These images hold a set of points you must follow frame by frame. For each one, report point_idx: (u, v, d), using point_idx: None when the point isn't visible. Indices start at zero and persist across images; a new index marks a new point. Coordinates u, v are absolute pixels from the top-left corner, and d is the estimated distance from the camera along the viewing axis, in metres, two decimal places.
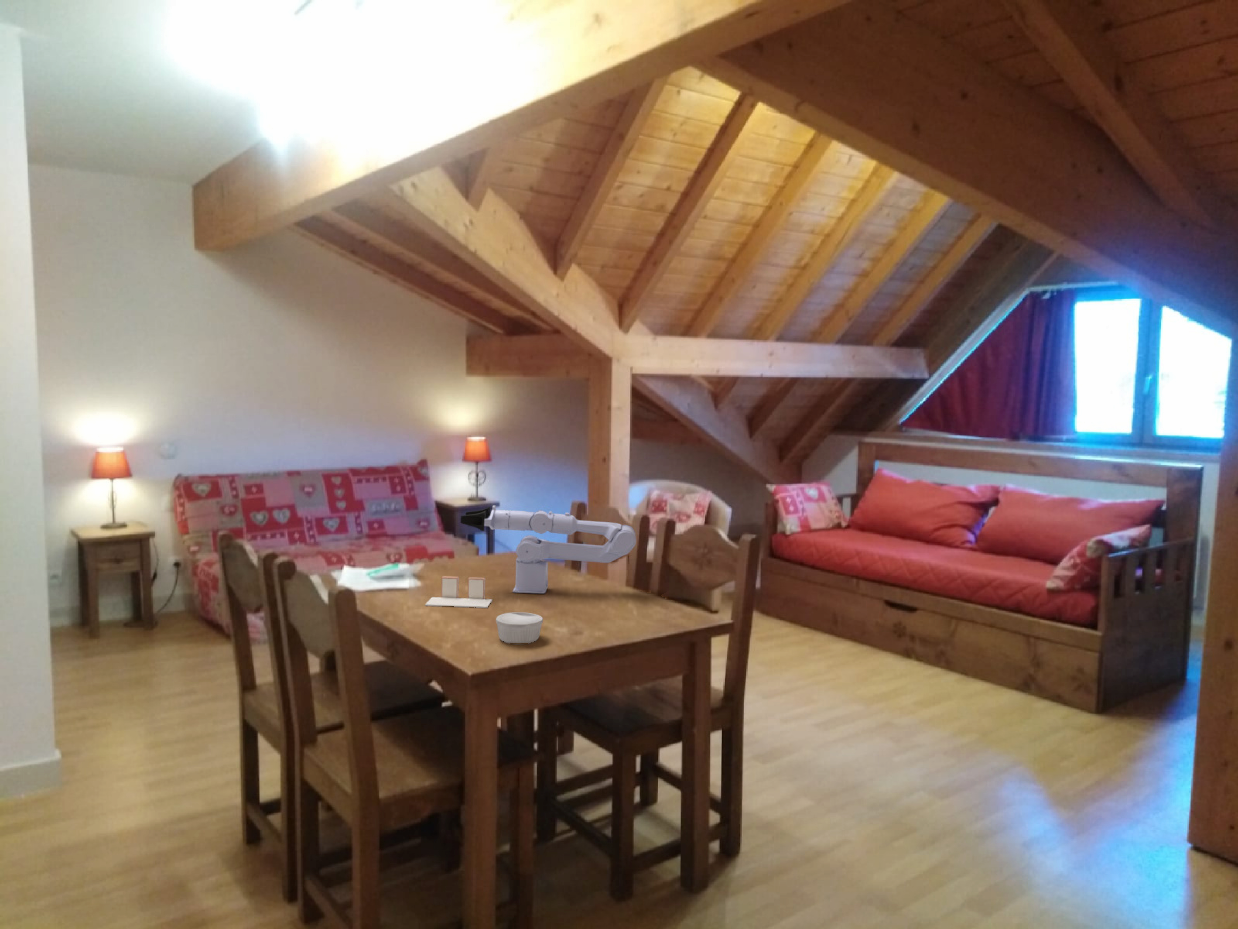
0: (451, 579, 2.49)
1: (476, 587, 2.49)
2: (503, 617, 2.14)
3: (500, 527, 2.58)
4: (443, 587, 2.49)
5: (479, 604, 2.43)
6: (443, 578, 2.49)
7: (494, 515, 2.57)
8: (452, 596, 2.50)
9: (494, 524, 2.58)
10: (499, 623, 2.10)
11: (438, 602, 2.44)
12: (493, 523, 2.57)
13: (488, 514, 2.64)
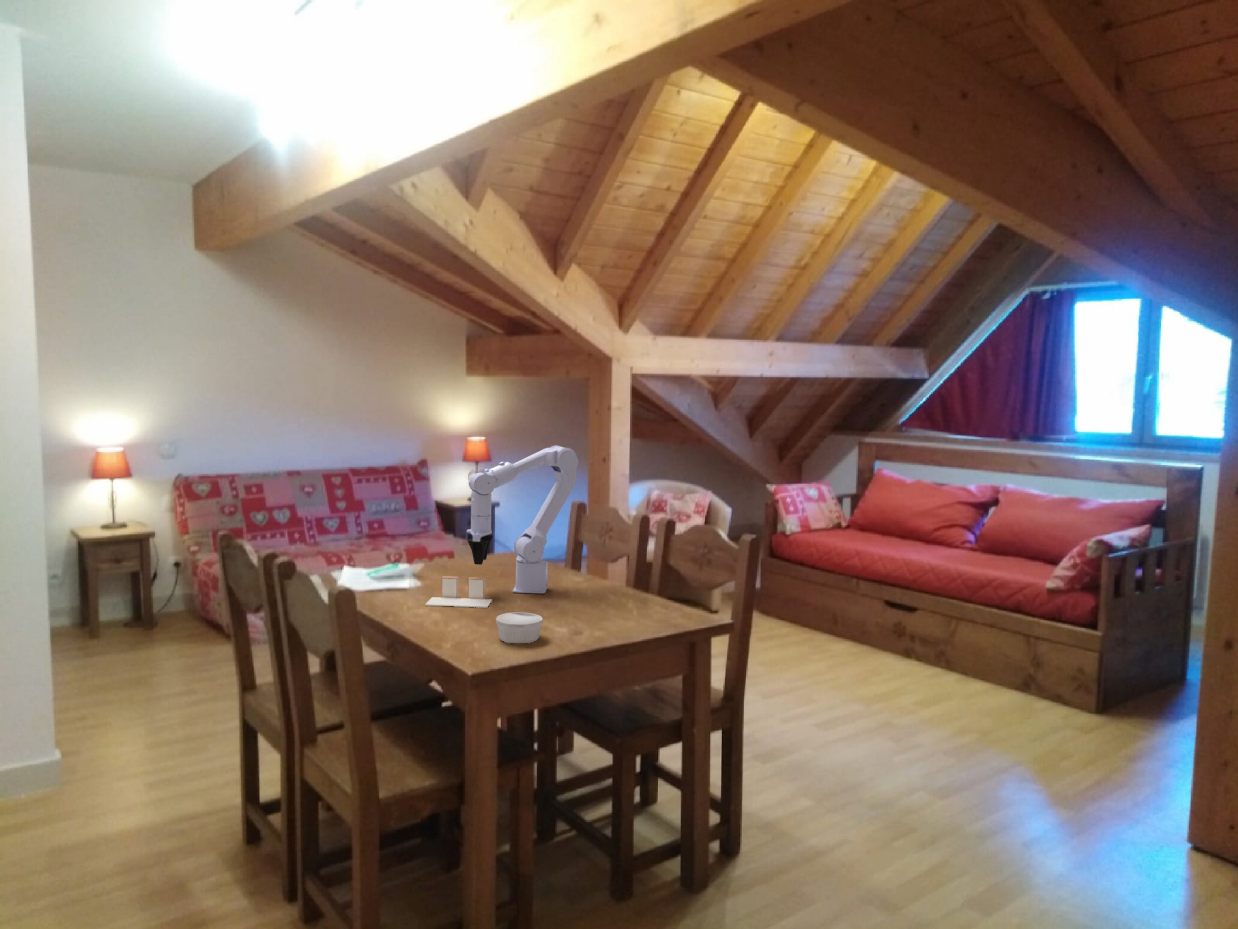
0: (451, 579, 2.49)
1: (476, 587, 2.49)
2: (503, 616, 2.14)
3: (486, 524, 2.52)
4: (443, 587, 2.49)
5: (479, 604, 2.43)
6: (443, 578, 2.49)
7: (474, 530, 2.52)
8: (452, 596, 2.50)
9: (483, 530, 2.51)
10: (499, 623, 2.10)
11: (438, 602, 2.44)
12: (482, 531, 2.51)
13: (480, 536, 2.57)
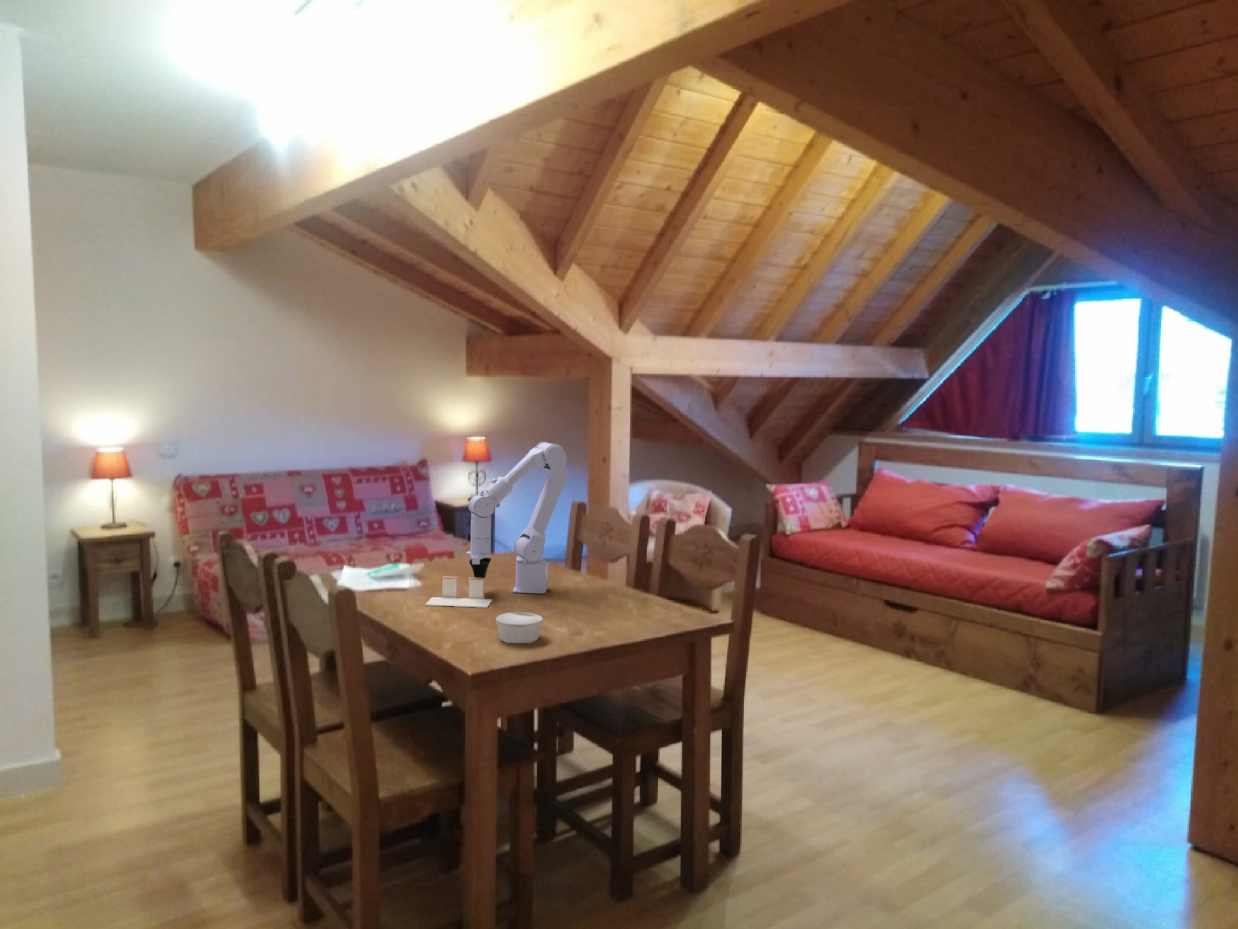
0: (451, 579, 2.49)
1: (476, 587, 2.49)
2: (503, 617, 2.14)
3: (486, 546, 2.52)
4: (443, 587, 2.49)
5: (479, 604, 2.43)
6: (443, 578, 2.49)
7: (473, 553, 2.52)
8: (452, 596, 2.50)
9: (483, 553, 2.52)
10: (499, 623, 2.10)
11: (438, 602, 2.44)
12: (481, 554, 2.52)
13: None
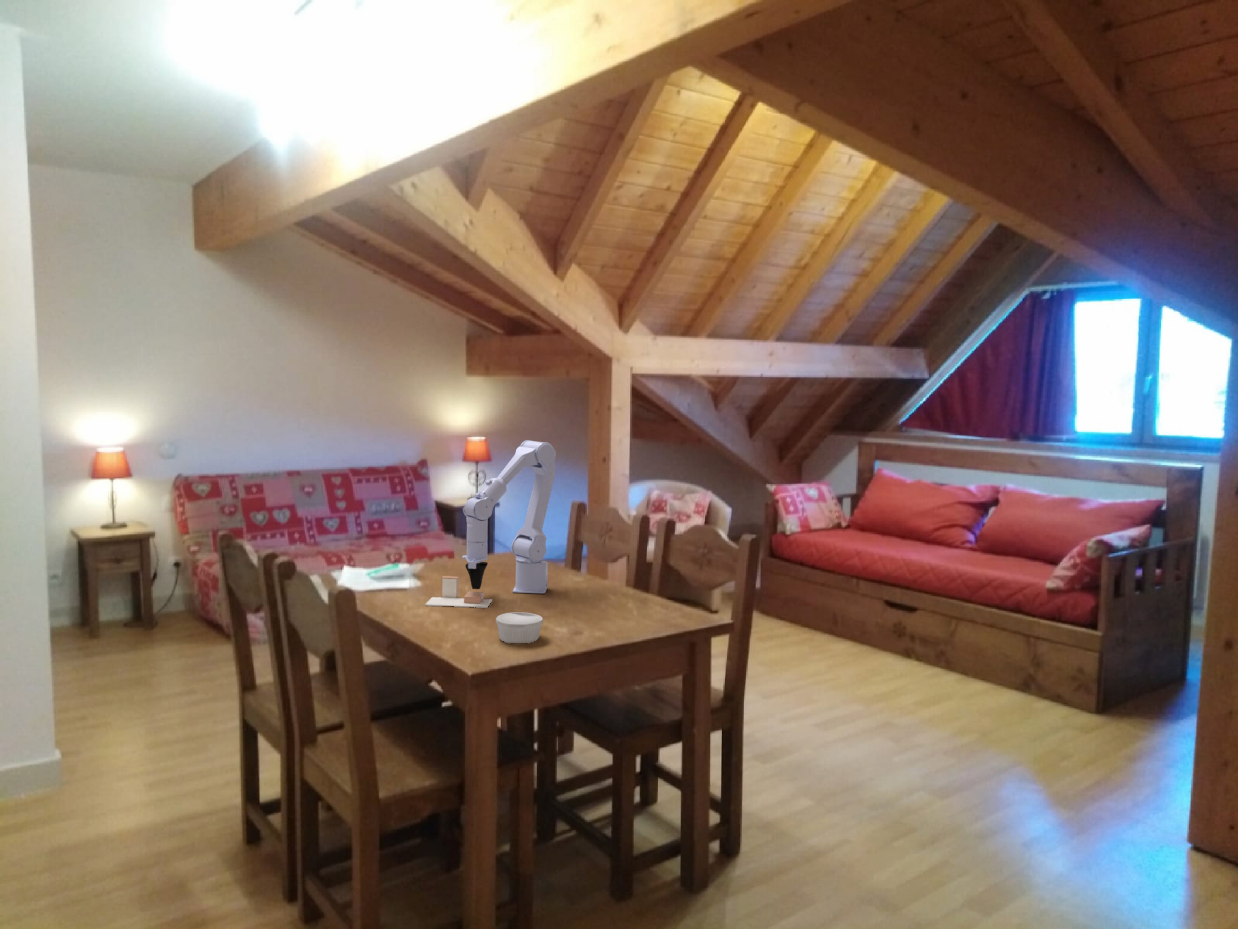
0: (451, 579, 2.49)
1: None
2: (503, 617, 2.14)
3: (482, 550, 2.47)
4: (443, 587, 2.49)
5: (479, 604, 2.43)
6: (443, 578, 2.49)
7: (469, 557, 2.46)
8: (452, 596, 2.50)
9: (479, 557, 2.46)
10: (499, 623, 2.10)
11: (438, 602, 2.44)
12: (477, 558, 2.46)
13: None
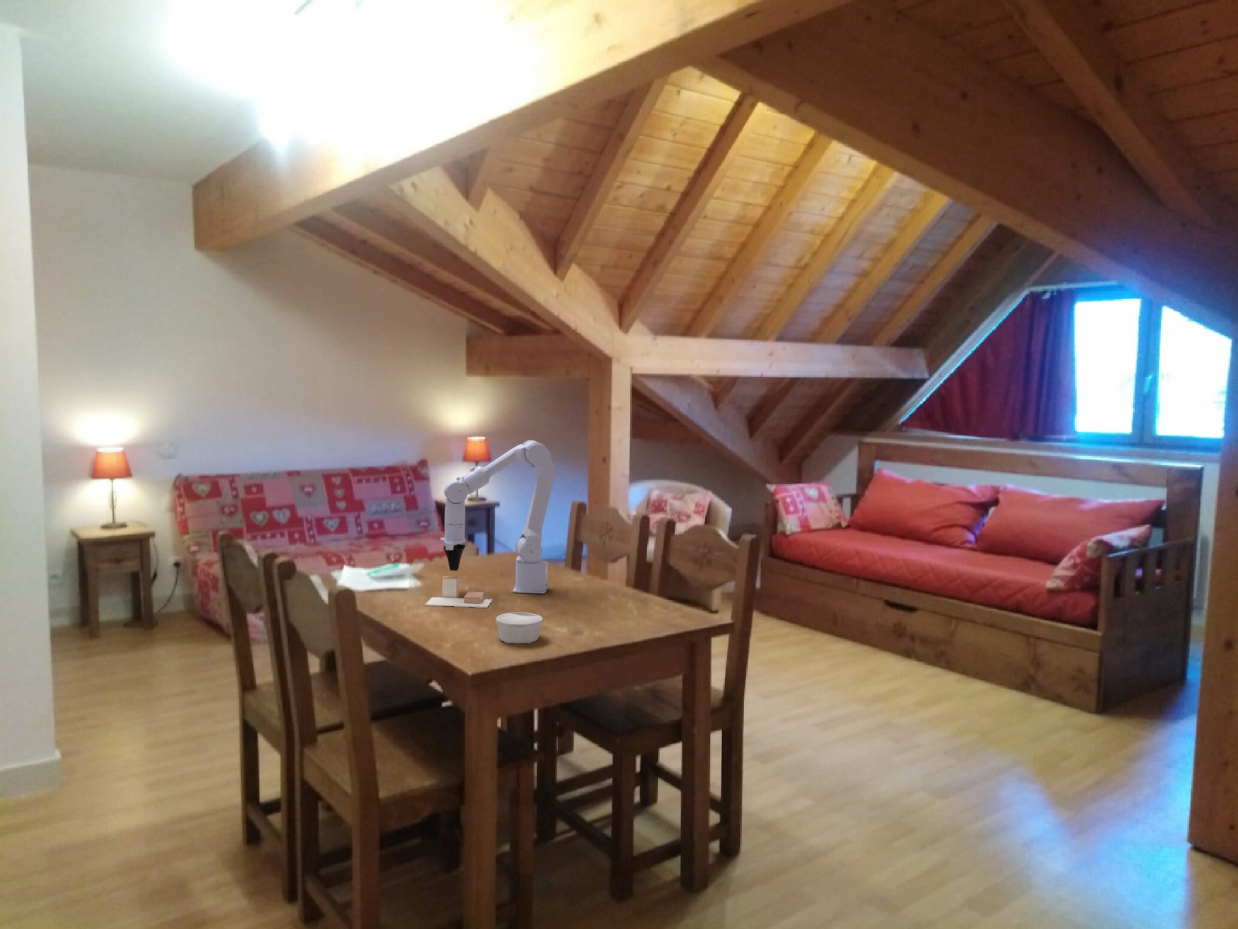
0: (451, 579, 2.49)
1: None
2: (503, 617, 2.14)
3: (460, 533, 2.52)
4: (443, 587, 2.49)
5: (479, 604, 2.43)
6: (443, 578, 2.49)
7: (447, 539, 2.52)
8: (452, 596, 2.50)
9: (457, 539, 2.52)
10: (499, 623, 2.10)
11: (438, 602, 2.44)
12: (455, 540, 2.52)
13: None
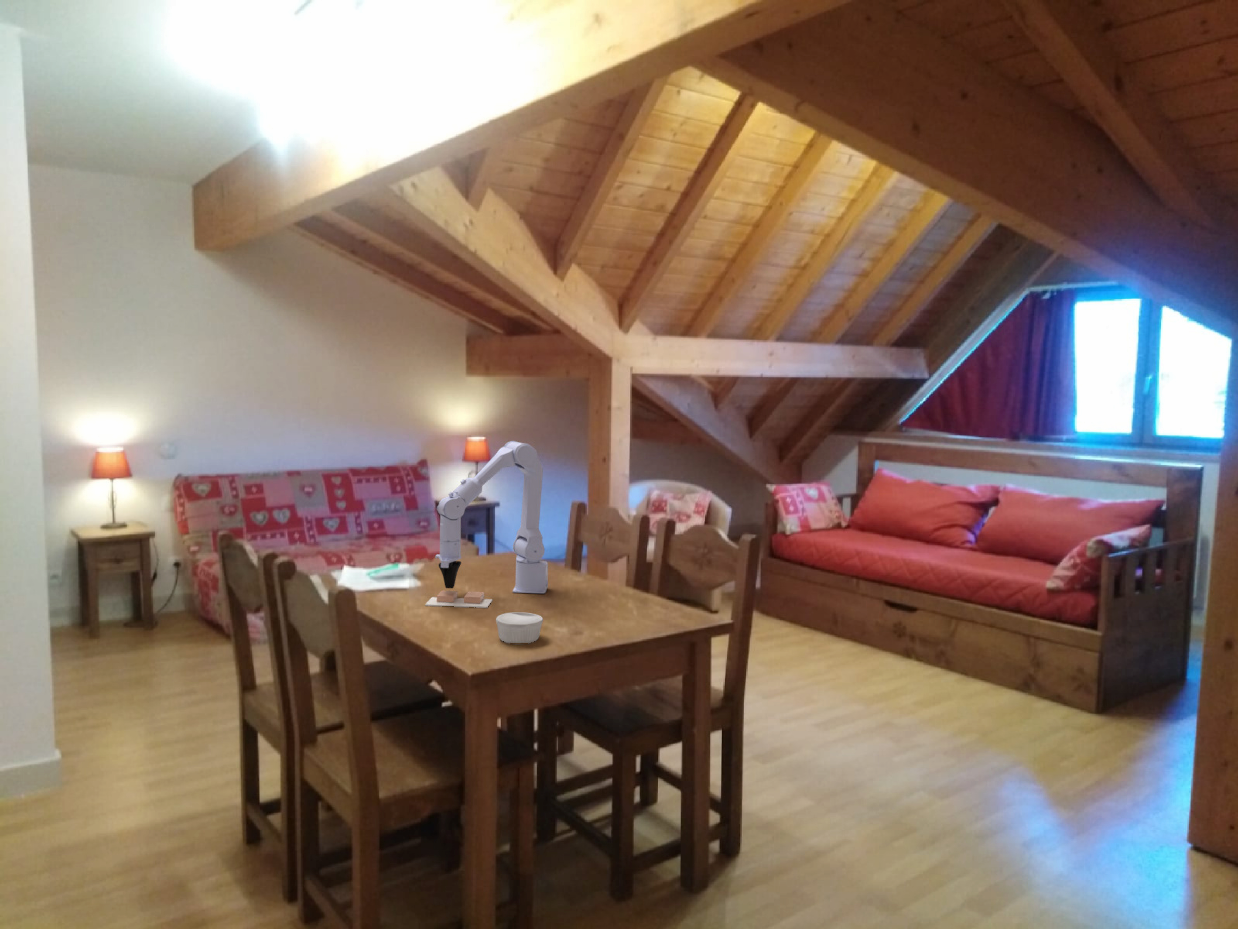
0: (447, 601, 2.44)
1: None
2: (503, 617, 2.14)
3: (455, 550, 2.47)
4: None
5: (479, 604, 2.43)
6: (438, 601, 2.44)
7: (442, 556, 2.46)
8: None
9: (452, 556, 2.46)
10: (499, 623, 2.10)
11: (438, 602, 2.44)
12: (450, 557, 2.46)
13: None
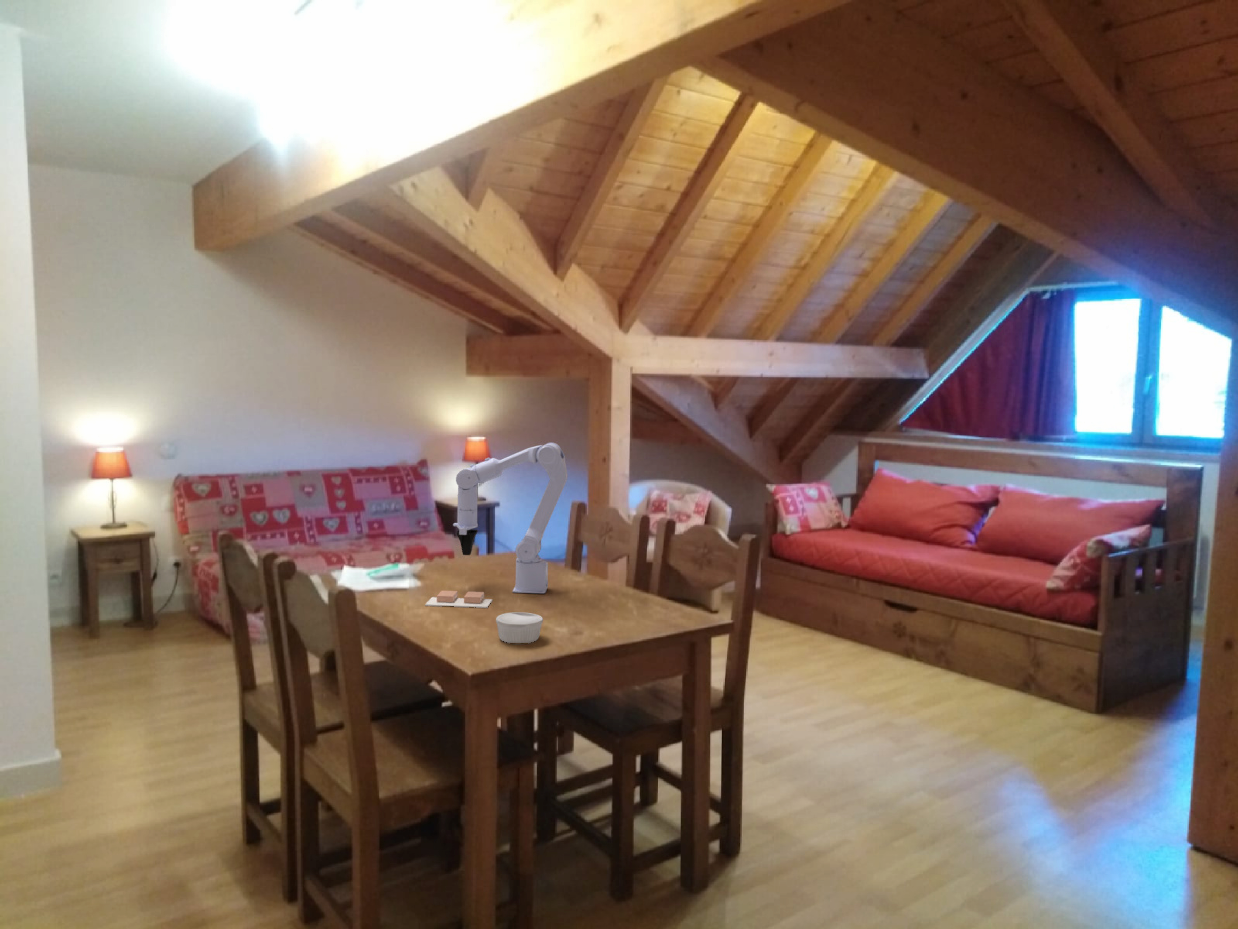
0: (447, 601, 2.44)
1: None
2: (503, 616, 2.14)
3: (472, 518, 2.59)
4: None
5: (479, 604, 2.43)
6: (438, 601, 2.44)
7: (460, 524, 2.59)
8: None
9: (469, 524, 2.59)
10: (499, 623, 2.10)
11: (438, 602, 2.44)
12: (468, 525, 2.58)
13: None
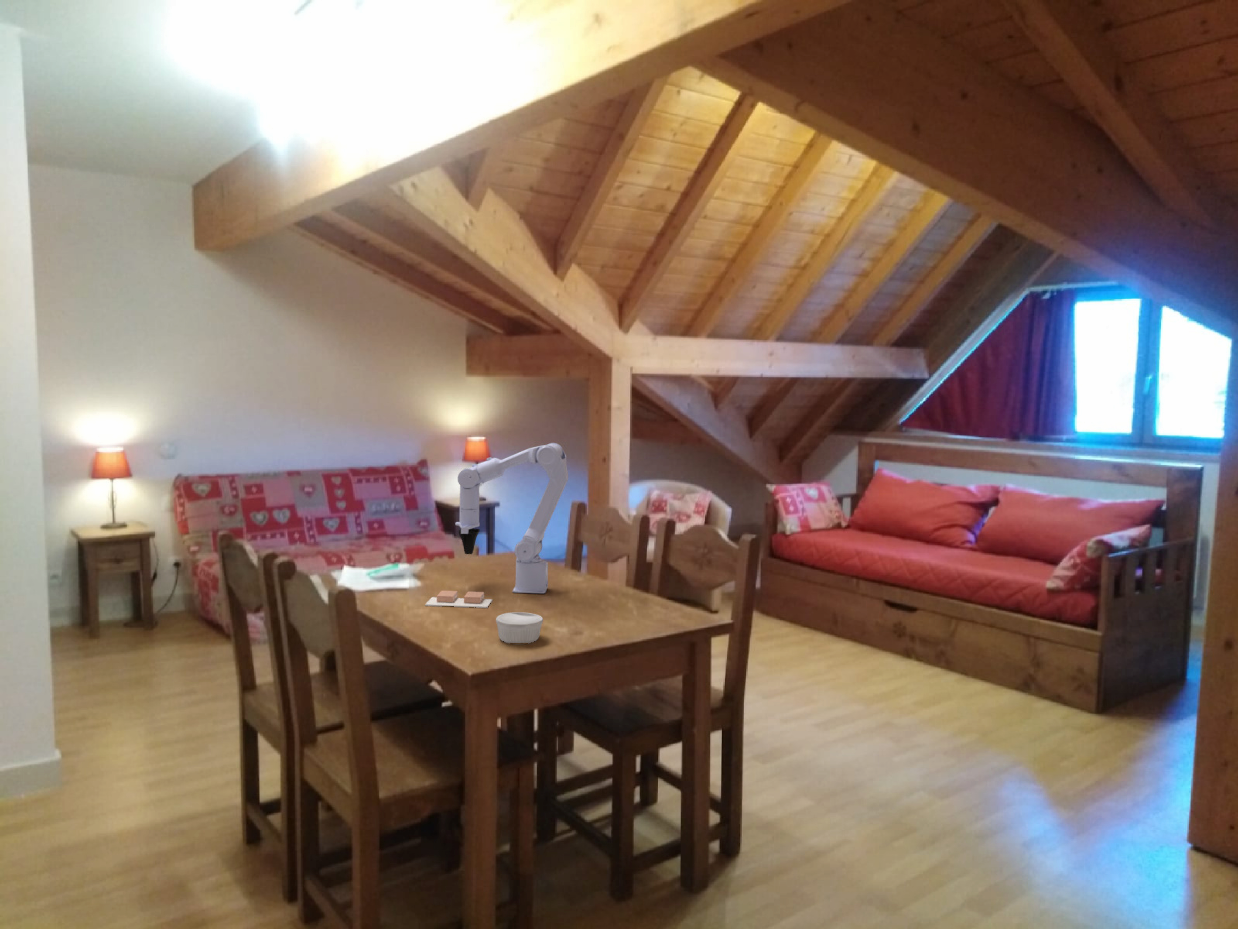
0: (447, 601, 2.44)
1: None
2: (503, 616, 2.14)
3: (474, 517, 2.60)
4: None
5: (479, 604, 2.43)
6: (438, 601, 2.44)
7: (462, 523, 2.60)
8: None
9: (471, 523, 2.60)
10: (499, 623, 2.10)
11: (438, 602, 2.44)
12: (470, 524, 2.60)
13: None
